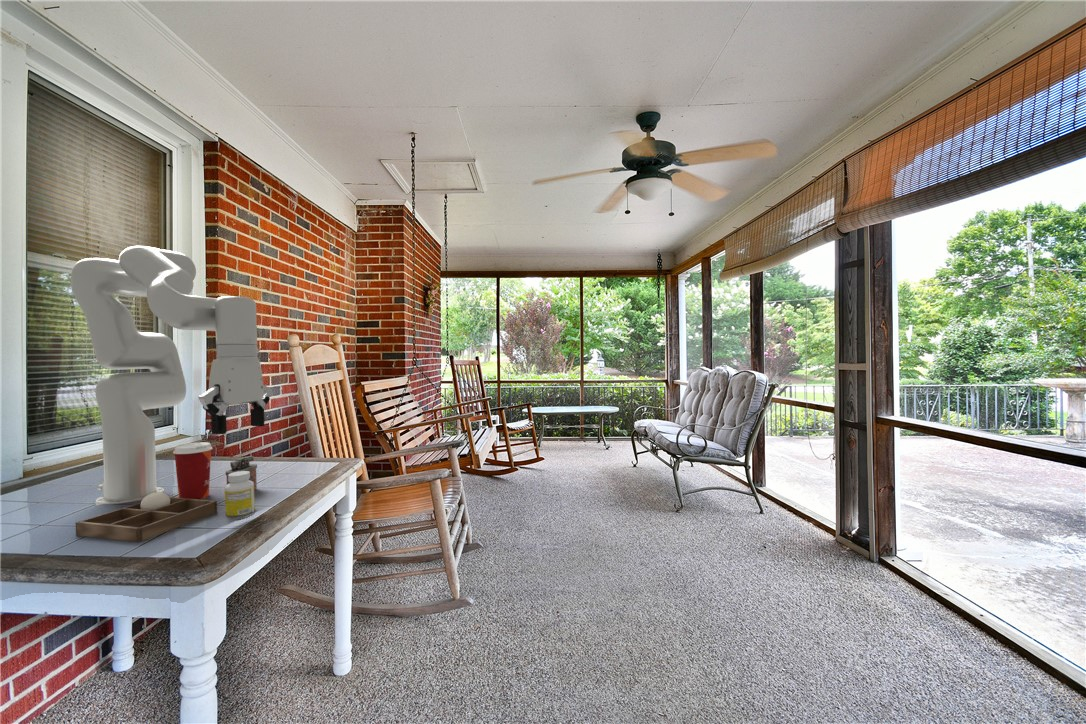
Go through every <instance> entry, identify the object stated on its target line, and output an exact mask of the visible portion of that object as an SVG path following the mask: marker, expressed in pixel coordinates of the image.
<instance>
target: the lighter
mask: <svg viewBox="0 0 1086 724" xmlns="http://www.w3.org/2000/svg"><path fill="white" fill-rule="evenodd" d="M254 458H255V457H254V456H253V455H249V456H245V457H242V458H241V457H239V458H235V460H234V461H230V468H231V469H228V470H226V471H225V476H226V485H227V484H229V483H230V482H229V481H228V475H229V474H230V473H234V472H239V471H249V472H250V478H249V480H250V481H252V482H253V483H254V492H255V491H257V487H258V486H257V483H258V481H257V468H258V464H257V463H251V462H253V461H254V460H255V459H254ZM250 463H251V464H250Z"/></svg>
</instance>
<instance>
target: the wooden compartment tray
mask: <svg viewBox="0 0 1086 724" xmlns="http://www.w3.org/2000/svg"><path fill="white" fill-rule="evenodd" d="M169 497H170V501H171V502H170V504H169V505H166V506H163V507H160V508H157V509H154V510H142V509H141V507H140V505H141V502H142V501H140V502H138V503H137V502H136V503H134V504H131V505H128V506H124V507H122V508H118V509H114V510H111V511H109V512H105V513H101V514H98V515H95V516H92V517H89V518H86V519H83V520H82V519H81V520H78V521H75V536H79V537H80V536H81V537H87V538H97V539H104V540H105V539H106V540H107V539H108V540H116V541H125V542H133V543H141V542H143V541H144V542H145V541H146V540H149V539H151V538H155V537H158V536H159V535H162V534H164V533H167V532H170V531H172V530H175V529H177V528H179V527H183V526H185V525H188V524H190V523H193V522H196V521H198V520H200V519H201V520H202V519H203V518H207V517H208V516H210V515H211V516H212V515H214V514H216V513H218V505H217V504H218V503H217V502H218V501H217V500H210V499H209V500H207V499H200V500H198V499H186V498H179V497H173V496H172V497H171V496H169Z"/></svg>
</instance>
